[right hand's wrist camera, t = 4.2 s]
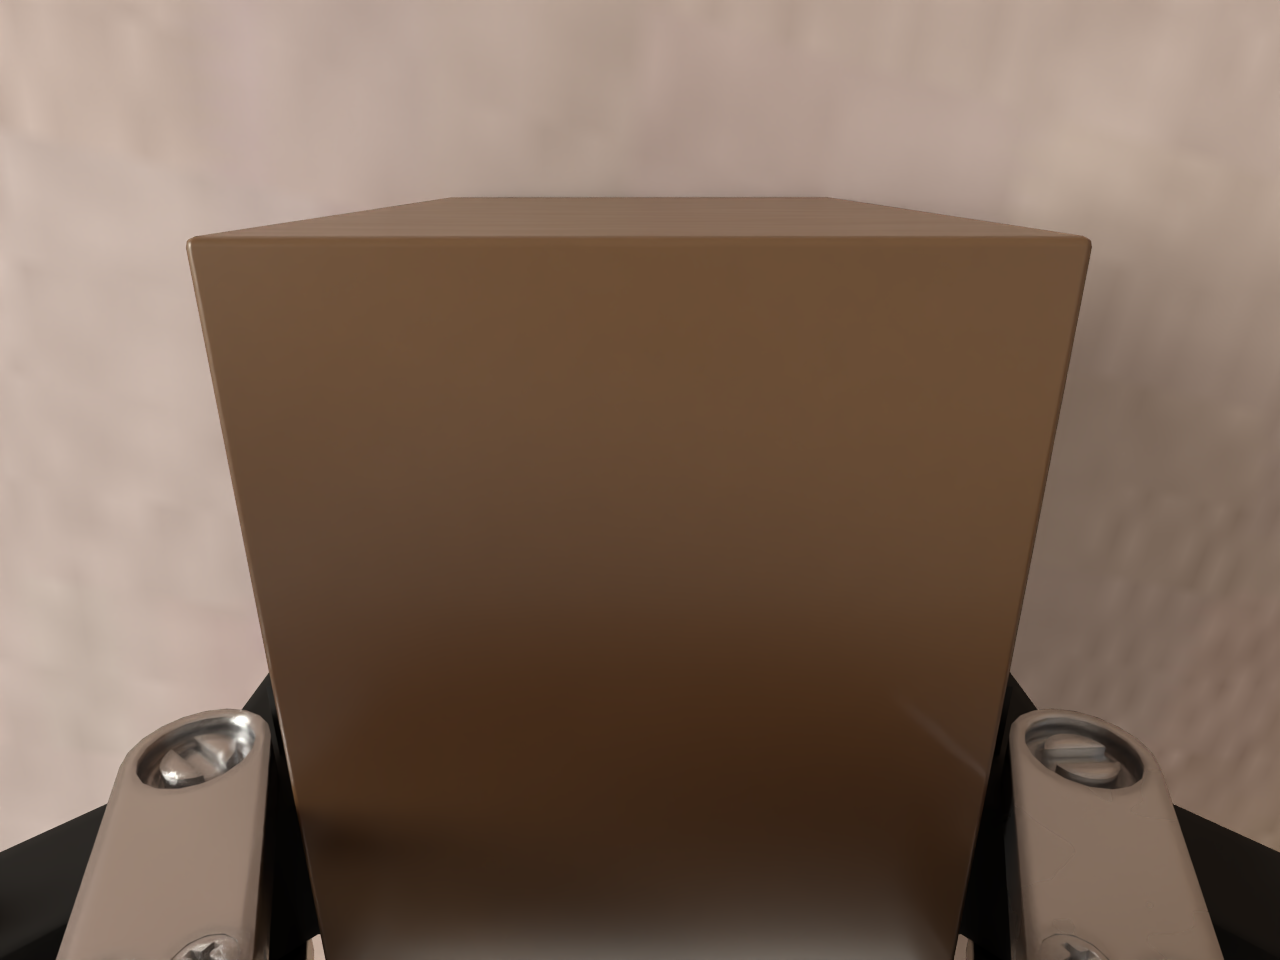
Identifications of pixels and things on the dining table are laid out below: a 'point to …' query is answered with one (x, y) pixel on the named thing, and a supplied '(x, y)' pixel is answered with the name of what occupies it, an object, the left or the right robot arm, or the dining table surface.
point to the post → (639, 560)
